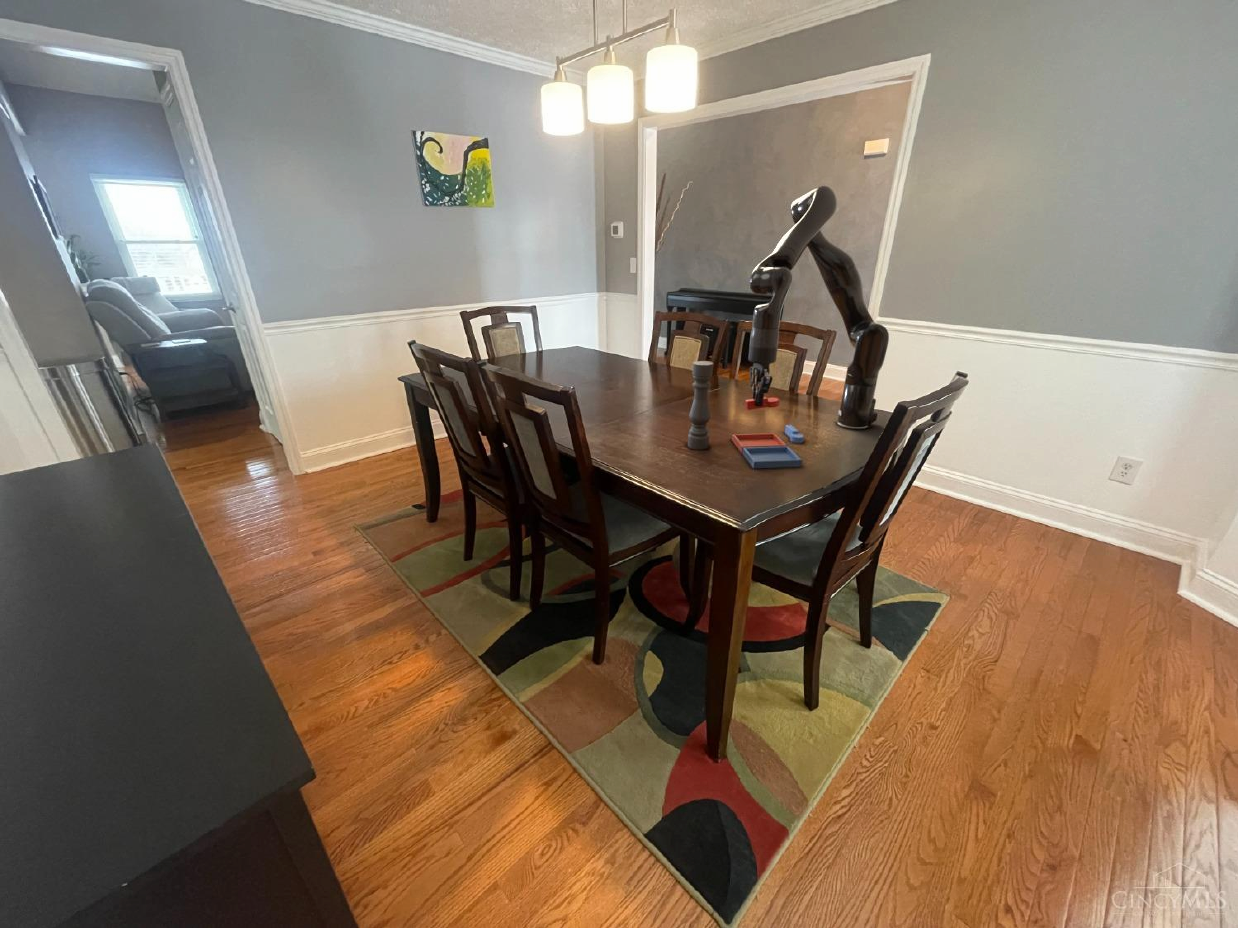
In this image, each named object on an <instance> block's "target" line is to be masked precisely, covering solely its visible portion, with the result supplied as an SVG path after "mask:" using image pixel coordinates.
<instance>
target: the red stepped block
mask: <svg viewBox="0 0 1238 928" xmlns="http://www.w3.org/2000/svg"><path fill="white" fill-rule="evenodd" d="M779 406H780V399H779V398H778V397H766V396H764V398H763V405H762V406H758V407H756V406H755V399H752V398H749V399H745V409H746V410H747V411H750V410H751V411H752V410H757V409H758V410H759V409H763V408H764V409H765V408H778V407H779Z"/></svg>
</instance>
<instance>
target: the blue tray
mask: <svg viewBox="0 0 1238 928" xmlns="http://www.w3.org/2000/svg"><path fill="white" fill-rule="evenodd" d="M741 454H742V455H743V457H744V459H745V460H746V461H747V462H748V463H749V465H750V466H751V467H752V469H771V468H772V469H775V468H777V469H778V468H801V467H802V464H803V459H802V458H801V457H800V456H799V455H798V454H797V453H796V452H795V451H794V450H793V449H791V447H790V446H788V445H787V446H781V447H749V448H743V453H741Z"/></svg>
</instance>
